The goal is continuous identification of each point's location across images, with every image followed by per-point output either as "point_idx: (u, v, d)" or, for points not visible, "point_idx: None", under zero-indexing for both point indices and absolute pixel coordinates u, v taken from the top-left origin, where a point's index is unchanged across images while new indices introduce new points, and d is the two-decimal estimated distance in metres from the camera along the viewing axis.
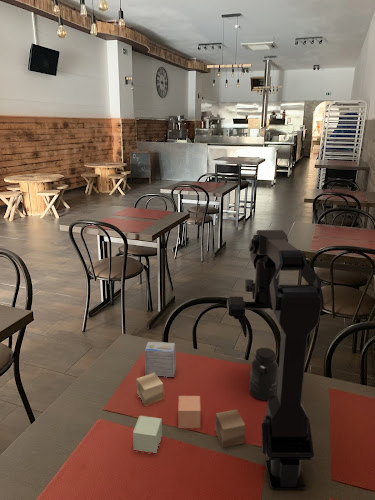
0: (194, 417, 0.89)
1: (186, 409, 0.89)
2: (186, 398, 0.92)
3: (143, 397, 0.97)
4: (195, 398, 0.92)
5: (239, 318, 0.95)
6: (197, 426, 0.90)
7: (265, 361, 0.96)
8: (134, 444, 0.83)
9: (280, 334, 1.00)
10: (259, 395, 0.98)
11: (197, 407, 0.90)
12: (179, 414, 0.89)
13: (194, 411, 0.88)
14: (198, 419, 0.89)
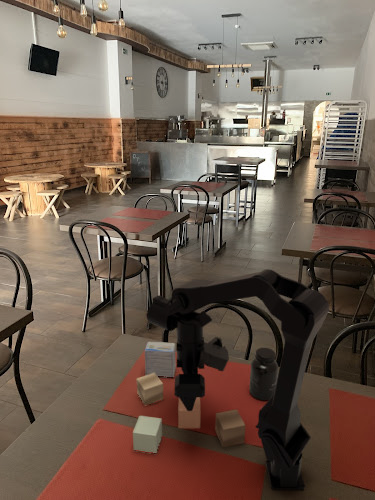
0: (194, 417, 0.89)
1: (186, 409, 0.89)
2: None
3: (143, 397, 0.97)
4: None
5: None
6: (197, 426, 0.90)
7: (265, 361, 0.96)
8: (134, 444, 0.83)
9: None
10: (259, 395, 0.98)
11: (197, 407, 0.90)
12: (179, 414, 0.89)
13: (194, 411, 0.88)
14: (198, 419, 0.89)
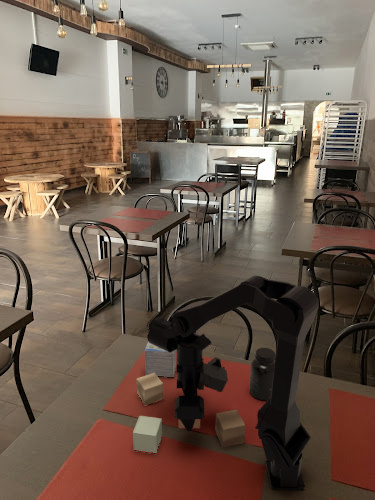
0: None
1: None
2: None
3: (143, 397, 0.97)
4: None
5: None
6: (197, 426, 0.90)
7: (265, 361, 0.96)
8: (134, 444, 0.83)
9: None
10: (259, 395, 0.98)
11: None
12: None
13: None
14: (198, 419, 0.89)
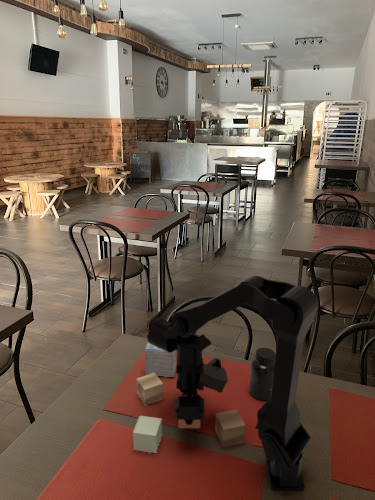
0: None
1: None
2: None
3: (143, 397, 0.97)
4: None
5: None
6: (197, 426, 0.90)
7: (265, 361, 0.96)
8: (134, 444, 0.83)
9: None
10: (259, 395, 0.98)
11: None
12: None
13: None
14: None
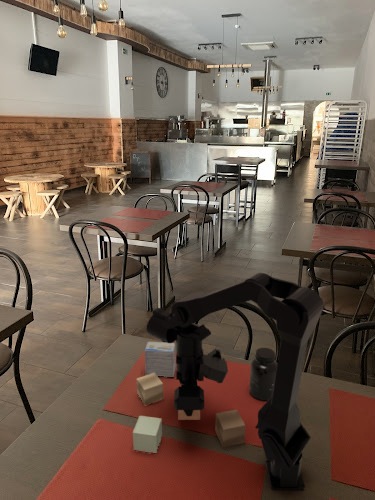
0: None
1: None
2: None
3: (143, 397, 0.97)
4: None
5: None
6: (197, 417, 0.89)
7: (265, 361, 0.96)
8: (134, 444, 0.83)
9: None
10: (259, 395, 0.98)
11: None
12: None
13: None
14: (198, 410, 0.88)
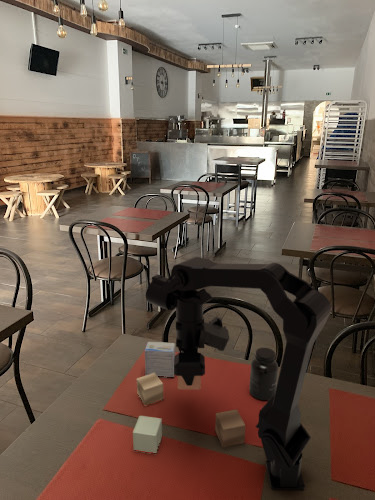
0: (194, 376, 0.86)
1: None
2: None
3: (143, 397, 0.97)
4: None
5: None
6: (197, 387, 0.86)
7: (265, 361, 0.96)
8: (134, 444, 0.83)
9: None
10: (259, 395, 0.98)
11: None
12: None
13: None
14: (198, 380, 0.86)
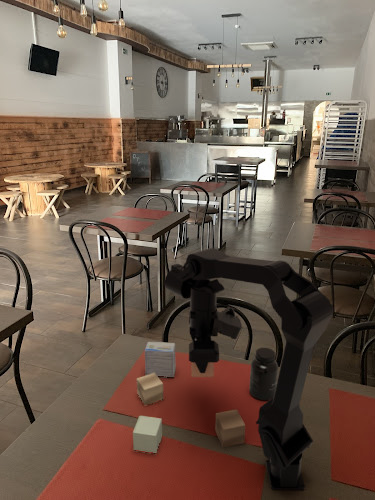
0: (208, 364, 0.88)
1: None
2: None
3: (143, 397, 0.97)
4: None
5: None
6: (210, 374, 0.89)
7: (265, 361, 0.96)
8: (134, 444, 0.83)
9: None
10: (259, 395, 0.98)
11: None
12: (192, 362, 0.88)
13: None
14: (211, 367, 0.88)
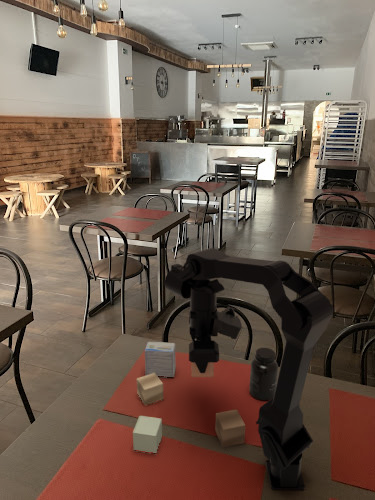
0: (208, 364, 0.88)
1: None
2: None
3: (143, 397, 0.97)
4: None
5: None
6: (210, 374, 0.89)
7: (265, 361, 0.96)
8: (134, 444, 0.83)
9: None
10: (259, 395, 0.98)
11: None
12: (192, 362, 0.88)
13: None
14: (211, 367, 0.88)
